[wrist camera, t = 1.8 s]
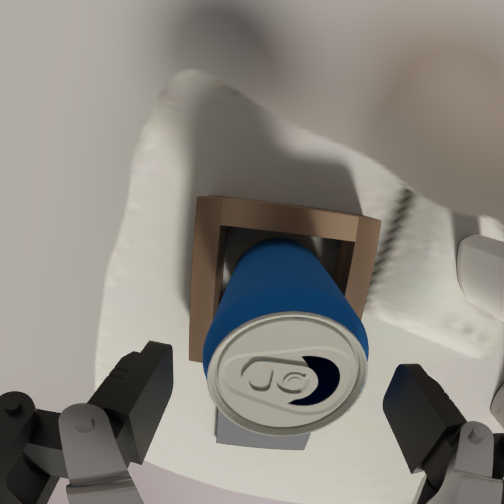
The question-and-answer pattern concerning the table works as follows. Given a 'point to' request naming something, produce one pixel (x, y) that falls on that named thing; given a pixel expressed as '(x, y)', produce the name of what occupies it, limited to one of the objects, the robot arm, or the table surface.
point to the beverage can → (284, 344)
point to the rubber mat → (255, 437)
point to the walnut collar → (280, 220)
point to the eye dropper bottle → (482, 272)
